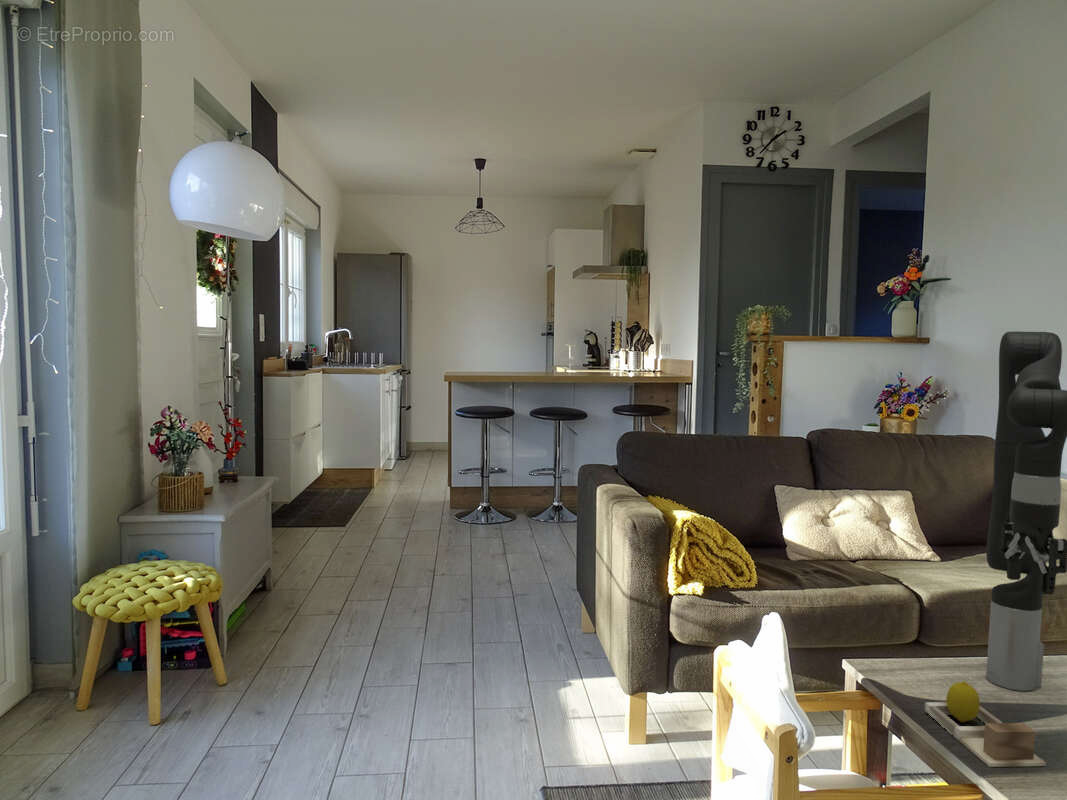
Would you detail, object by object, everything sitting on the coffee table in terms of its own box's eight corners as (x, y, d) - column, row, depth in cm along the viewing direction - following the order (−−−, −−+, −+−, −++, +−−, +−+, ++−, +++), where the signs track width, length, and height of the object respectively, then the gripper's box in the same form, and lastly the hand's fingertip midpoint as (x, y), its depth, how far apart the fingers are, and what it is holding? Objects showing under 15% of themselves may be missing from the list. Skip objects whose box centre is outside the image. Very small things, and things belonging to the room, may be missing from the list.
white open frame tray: (973, 711, 152) (975, 684, 151) (1045, 765, 132) (1047, 734, 132) (924, 712, 151) (926, 684, 151) (989, 766, 132) (991, 735, 131)
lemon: (982, 731, 144) (985, 689, 144) (950, 727, 145) (953, 686, 145) (972, 717, 150) (974, 677, 149) (941, 713, 151) (943, 674, 150)
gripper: (1085, 507, 133) (1078, 599, 134) (1027, 491, 147) (1021, 574, 149) (1043, 506, 133) (1037, 599, 134) (989, 491, 147) (984, 574, 148)
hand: (1029, 586), depth 141 cm, fingers open, 8 cm apart
